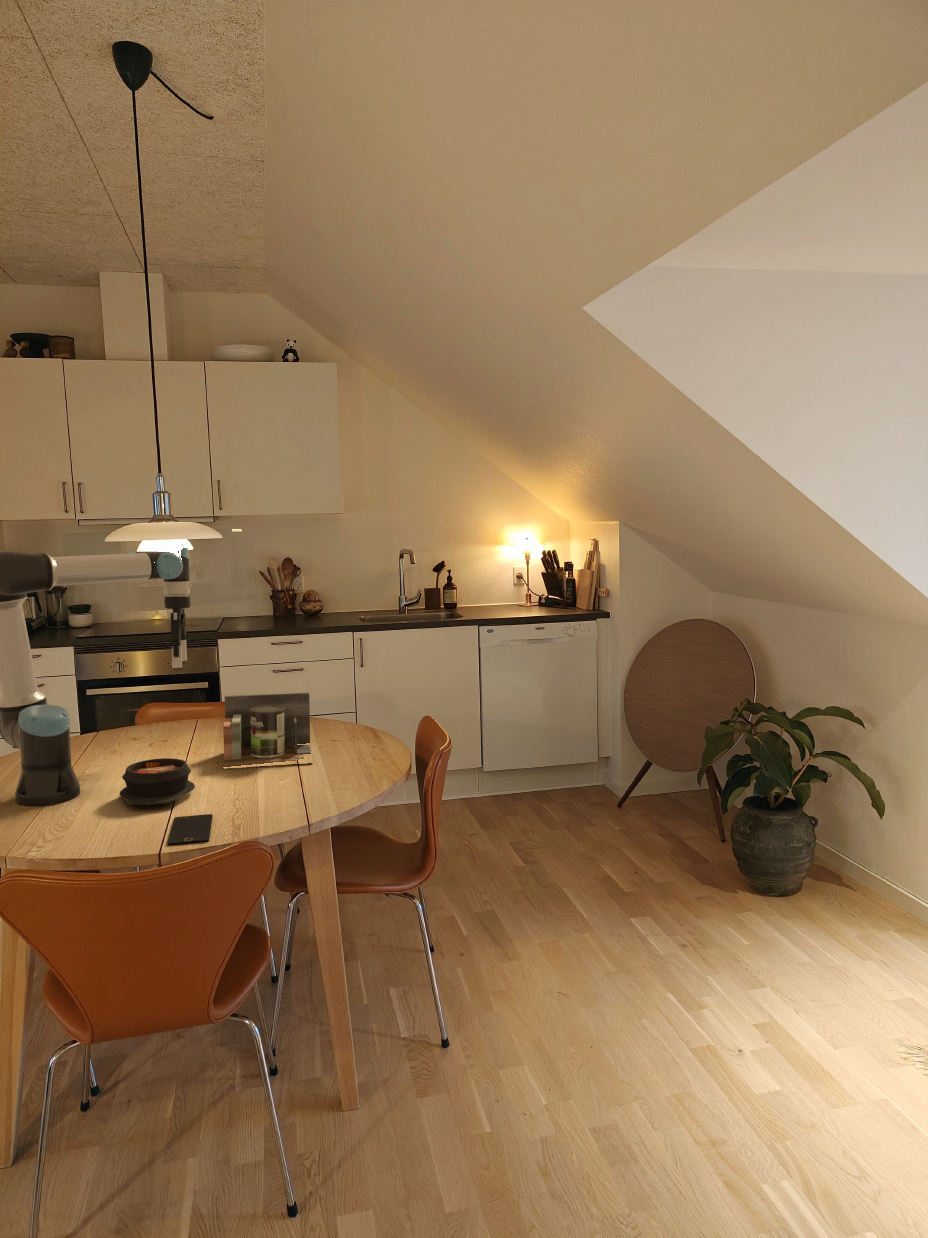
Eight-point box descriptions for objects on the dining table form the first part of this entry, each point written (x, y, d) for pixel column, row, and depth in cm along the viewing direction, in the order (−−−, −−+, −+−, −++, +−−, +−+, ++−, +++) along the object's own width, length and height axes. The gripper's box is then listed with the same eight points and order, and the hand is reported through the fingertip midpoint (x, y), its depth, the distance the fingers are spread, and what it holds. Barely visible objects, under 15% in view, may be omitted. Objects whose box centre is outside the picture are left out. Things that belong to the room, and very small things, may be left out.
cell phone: (167, 847, 182) (166, 843, 182) (174, 820, 199) (174, 817, 199) (208, 843, 184) (208, 839, 184) (212, 817, 202) (212, 813, 202)
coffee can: (263, 760, 245) (262, 713, 244) (244, 754, 252) (243, 708, 251) (292, 753, 253) (291, 708, 251) (272, 747, 260) (271, 703, 258)
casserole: (128, 785, 227) (126, 755, 226) (198, 780, 231) (197, 751, 230) (111, 815, 202) (109, 781, 201) (190, 809, 207) (189, 776, 206)
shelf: (312, 764, 247) (311, 704, 245) (222, 769, 241) (220, 709, 239) (310, 747, 266) (309, 692, 264) (226, 752, 261) (224, 695, 259)
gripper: (185, 598, 240) (188, 670, 243) (194, 592, 265) (196, 657, 267) (158, 598, 239) (161, 670, 241) (169, 592, 263) (171, 658, 265)
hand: (179, 664), depth 254 cm, fingers open, 13 cm apart
